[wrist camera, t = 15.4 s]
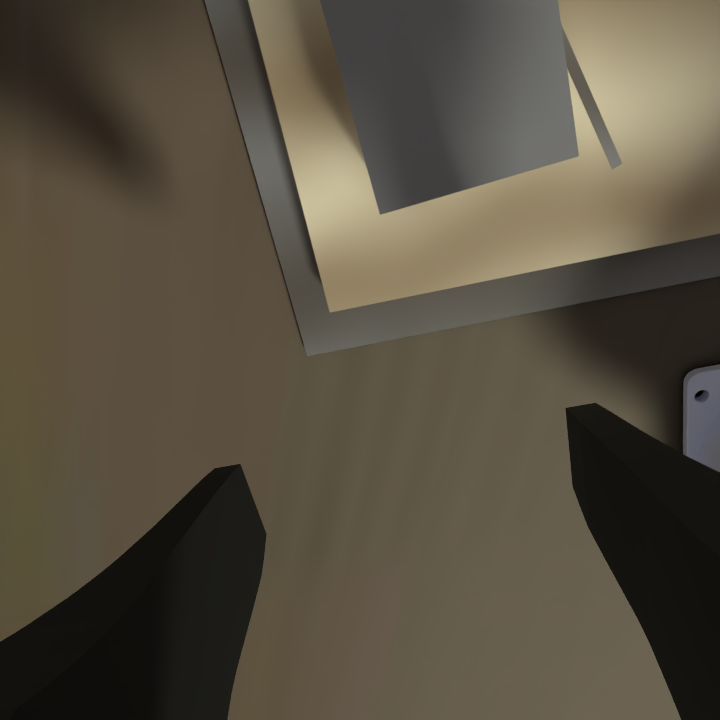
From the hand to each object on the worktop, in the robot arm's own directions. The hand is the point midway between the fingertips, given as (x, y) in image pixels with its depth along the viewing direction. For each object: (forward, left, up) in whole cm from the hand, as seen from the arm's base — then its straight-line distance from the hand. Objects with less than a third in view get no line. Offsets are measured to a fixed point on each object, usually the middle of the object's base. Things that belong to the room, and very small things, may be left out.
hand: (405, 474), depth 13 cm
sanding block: (+9, -2, -8) cm, 12 cm away
